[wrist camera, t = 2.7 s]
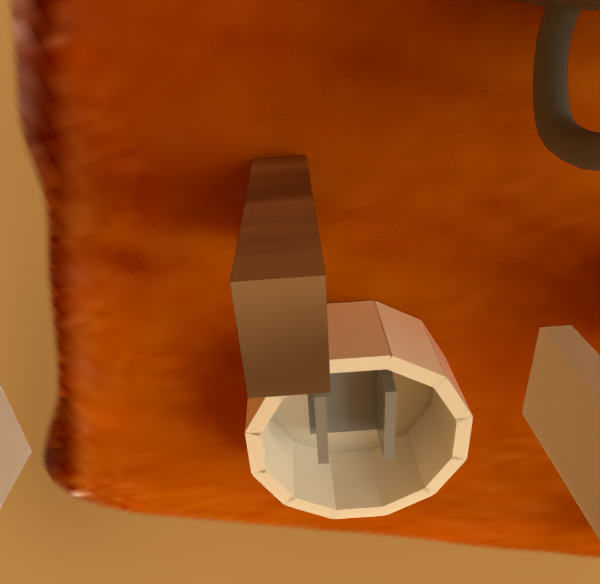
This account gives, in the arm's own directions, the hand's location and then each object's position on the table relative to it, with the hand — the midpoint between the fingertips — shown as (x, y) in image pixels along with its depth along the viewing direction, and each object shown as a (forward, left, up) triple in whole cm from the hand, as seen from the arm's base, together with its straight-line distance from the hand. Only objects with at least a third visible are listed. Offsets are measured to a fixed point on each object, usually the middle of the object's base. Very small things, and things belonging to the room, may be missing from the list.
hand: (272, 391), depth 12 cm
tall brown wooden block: (0, 0, -14) cm, 14 cm away
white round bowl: (+12, +3, -14) cm, 19 cm away
